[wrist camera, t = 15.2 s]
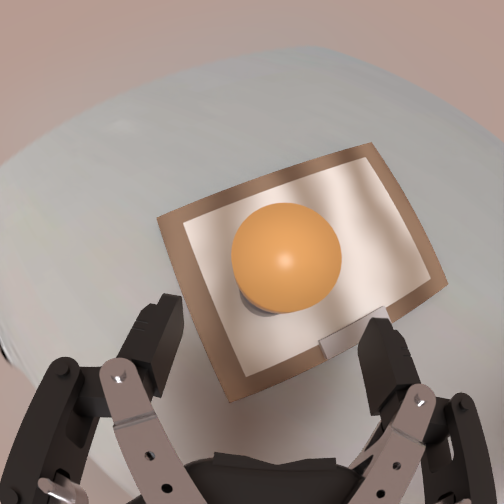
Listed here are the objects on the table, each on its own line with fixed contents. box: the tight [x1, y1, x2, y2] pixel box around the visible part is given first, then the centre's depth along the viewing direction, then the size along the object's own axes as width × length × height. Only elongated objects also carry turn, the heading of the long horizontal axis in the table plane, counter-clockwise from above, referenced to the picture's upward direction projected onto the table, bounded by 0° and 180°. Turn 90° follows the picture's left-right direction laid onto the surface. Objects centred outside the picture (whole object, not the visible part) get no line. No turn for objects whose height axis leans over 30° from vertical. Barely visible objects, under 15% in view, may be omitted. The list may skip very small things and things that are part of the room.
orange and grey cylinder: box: [231, 203, 342, 317], centre depth 16 cm, size 4×4×11 cm
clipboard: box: [157, 142, 448, 403], centre depth 22 cm, size 22×16×2 cm
